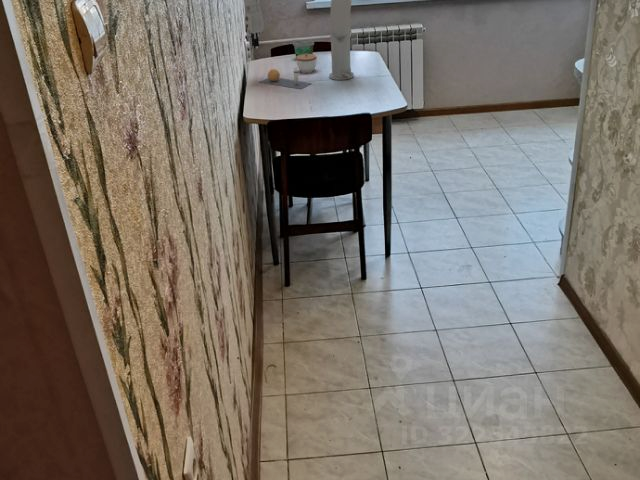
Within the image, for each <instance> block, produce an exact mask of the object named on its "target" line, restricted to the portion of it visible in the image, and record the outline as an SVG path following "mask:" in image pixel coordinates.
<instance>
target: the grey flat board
mask: <svg viewBox="0 0 640 480" xmlns="http://www.w3.org/2000/svg"><path fill="white" fill-rule="evenodd" d="M259 83H262V84H268V85H272V86H278V85H279V87H284V86H285V87H286V88H291V89H297V90H302V89H304V88H306V87H308V86H310V85H312V84H313V83H312V82H306V81H301V80H298V83H299V84H298V85H295V84H294V79H289V78H288V79H287V78H281V77H279V79H278V80H277V81H271V80H270V79H269V78H268V77H267V78H265V79H262V80H260V81H259Z"/></svg>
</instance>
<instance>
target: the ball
mask: <svg viewBox="0 0 640 480" xmlns="http://www.w3.org/2000/svg"><path fill="white" fill-rule="evenodd" d="M280 76H281V75H280V72H279V70H277V69H274V68H272V69H270V70H268V73H267V78H269V79H270V80H271V81H277V80H278V79H279V78H281V77H280Z"/></svg>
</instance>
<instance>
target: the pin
mask: <svg viewBox="0 0 640 480" xmlns="http://www.w3.org/2000/svg"><path fill="white" fill-rule="evenodd" d="M293 80H294V84H295V85H298V84H299V83H298V81H299V68H298V66H297V67H293Z"/></svg>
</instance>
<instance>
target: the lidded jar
mask: <svg viewBox="0 0 640 480" xmlns="http://www.w3.org/2000/svg"><path fill="white" fill-rule="evenodd" d="M317 57H318V56H317V55H316V54H314V53H313V54H307V53H305V54H302V55H298V56H297V57H296V56H295V59H296V65H297V68H298V70H299V71H300V72H301V73H306V74H308V73H312V72H313V71H314V70H315V69H316V67H317Z"/></svg>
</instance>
